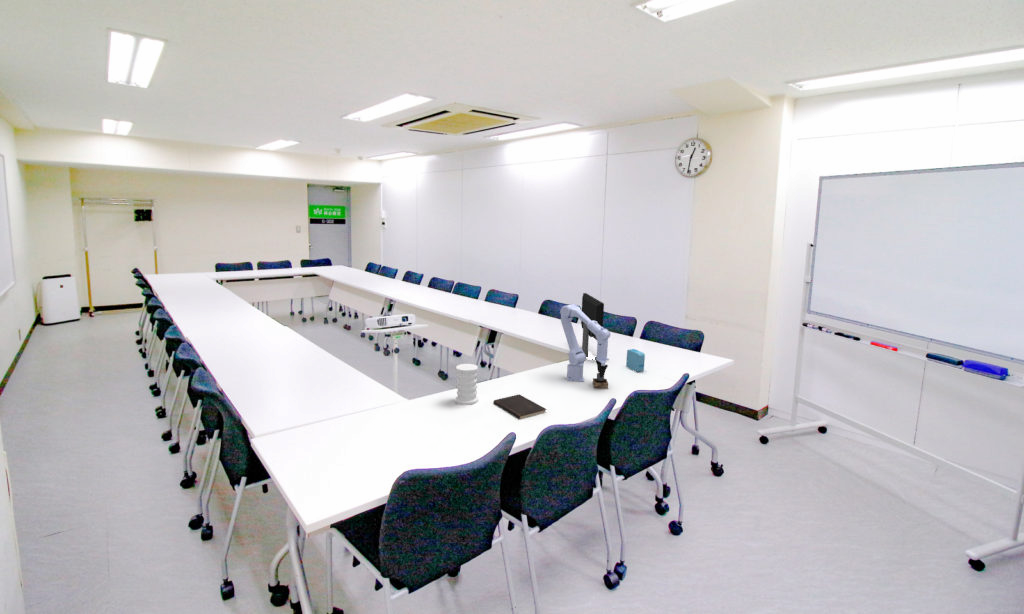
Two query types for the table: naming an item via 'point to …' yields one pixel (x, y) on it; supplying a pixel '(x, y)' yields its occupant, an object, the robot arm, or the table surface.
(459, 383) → the decorative container
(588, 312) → the computer monitor
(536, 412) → the hardcover book
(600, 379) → the battery cell
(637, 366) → the data package
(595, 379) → the brown square tray
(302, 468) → the table surface
